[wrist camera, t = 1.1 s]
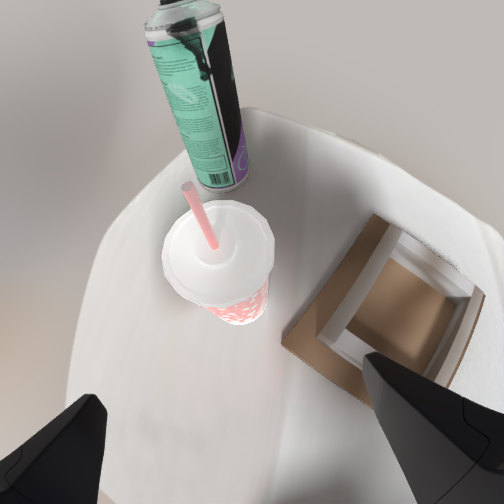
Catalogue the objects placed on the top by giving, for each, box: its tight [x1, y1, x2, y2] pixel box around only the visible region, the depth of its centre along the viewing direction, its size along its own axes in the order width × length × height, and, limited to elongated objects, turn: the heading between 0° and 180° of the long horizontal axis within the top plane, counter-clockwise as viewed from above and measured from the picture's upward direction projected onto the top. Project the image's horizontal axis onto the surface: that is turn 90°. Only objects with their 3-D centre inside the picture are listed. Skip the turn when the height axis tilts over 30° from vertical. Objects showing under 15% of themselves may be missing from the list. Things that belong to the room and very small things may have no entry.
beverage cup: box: [161, 182, 275, 325], centre depth 16 cm, size 6×6×14 cm
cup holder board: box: [281, 213, 485, 409], centre depth 18 cm, size 14×14×4 cm
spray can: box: [143, 0, 249, 193], centre depth 19 cm, size 6×6×20 cm
